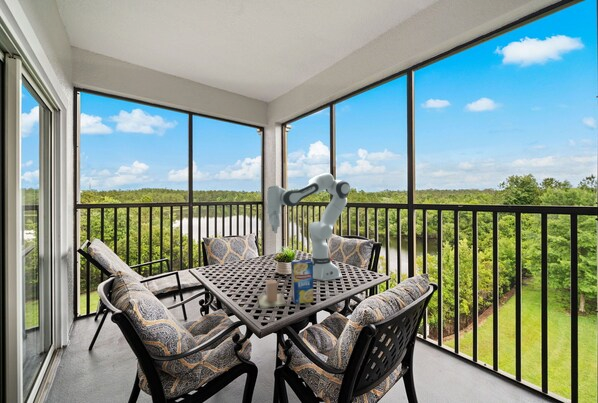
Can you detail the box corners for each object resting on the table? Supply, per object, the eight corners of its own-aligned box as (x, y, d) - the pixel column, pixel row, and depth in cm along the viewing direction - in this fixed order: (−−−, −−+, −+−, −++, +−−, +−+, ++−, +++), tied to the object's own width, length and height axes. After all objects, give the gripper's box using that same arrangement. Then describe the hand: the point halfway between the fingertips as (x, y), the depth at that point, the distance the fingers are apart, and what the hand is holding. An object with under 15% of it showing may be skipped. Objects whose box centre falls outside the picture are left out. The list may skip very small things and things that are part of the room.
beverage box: (291, 298, 147) (291, 260, 146) (310, 296, 149) (309, 259, 148) (294, 303, 140) (293, 264, 139) (313, 301, 142) (313, 262, 142)
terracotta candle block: (275, 296, 146) (275, 279, 146) (277, 300, 141) (277, 282, 141) (266, 298, 145) (265, 280, 145) (267, 301, 140) (267, 283, 139)
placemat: (281, 295, 152) (281, 293, 152) (286, 305, 138) (286, 303, 138) (257, 297, 148) (257, 295, 148) (260, 308, 135) (260, 306, 135)
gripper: (281, 211, 157) (282, 234, 157) (276, 209, 176) (276, 229, 177) (271, 212, 155) (271, 234, 156) (267, 209, 175) (267, 230, 175)
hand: (274, 232), depth 166 cm, fingers open, 8 cm apart
